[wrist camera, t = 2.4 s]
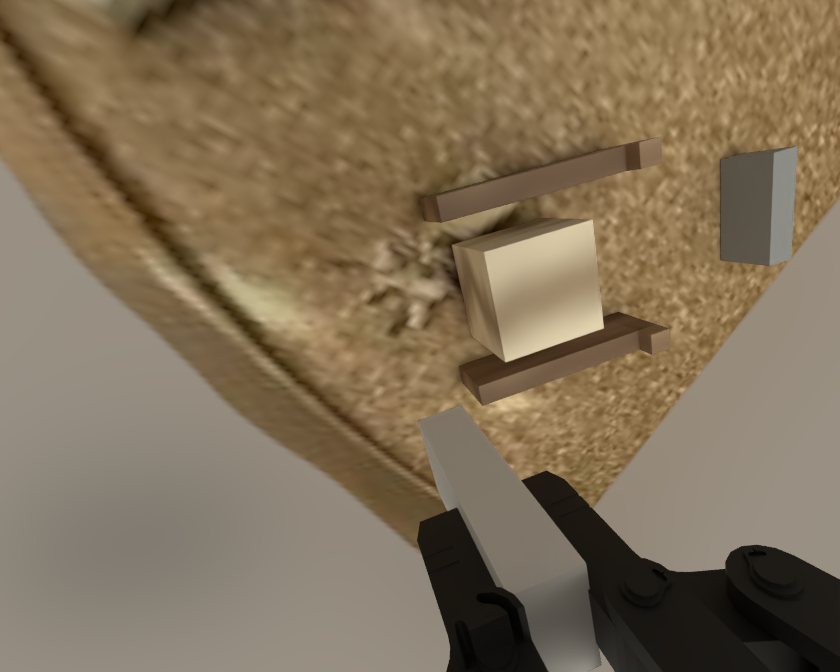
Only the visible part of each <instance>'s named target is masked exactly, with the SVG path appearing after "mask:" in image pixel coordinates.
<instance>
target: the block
mask: <svg viewBox="0 0 840 672" xmlns="http://www.w3.org/2000/svg"><path fill="white" fill-rule="evenodd" d="M452 249H453V254H454V258H455V263H456V267H457V272H458V276H459V281H460V285H461V290H462V294H463V299H464V303H465V308H466V312H467V317H468V321H469V326H470V330H471V335H472V337H473V338H475V339H476V340H477V341H479V342H480V343H481V344H482V345H484V346H485V347H486V348H488V349H489V350H490V351H491V352H493V353H494V354H495V355H497V356H498V357H499V358H500V359H502V360H503V361H504V362H508V361H511V360H514V359H517V358H520V357H523V356H526V355H529V354H531V353H534V352H537V351H540V350H543V349H546V348H549V347H551V346H554V345H557V344H560V343H563V342H566V341H569V340H572V339H574V338H577V337H580V336H583V335H586V334H589V333H592V332H595V331H597V330H600V329H603V328H604V324H603V315H602V305H601V296H600V286H599V276H598V267H597V257H596V248H595V238H594V229H593V220H590V219H554V218H540V219H537V220H534V221H530V222H527V223H523V224H520V225H517V226H513V227H510V228H506V229H503V230H500V231H496V232H493V233H489V234H486V235H483V236H479V237H476V238H472V239H469V240H466V241H462V242H459V243H455V244H452Z"/></svg>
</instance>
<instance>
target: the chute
mask: <svg viewBox="0 0 840 672" xmlns="http://www.w3.org/2000/svg"><path fill="white" fill-rule="evenodd" d="M660 163H662V150H661V137H657V138H652V139H647V140H643V141H638V142H634V143H629V144H624V145H620V146H615V147H610V148H606V149H602V150H598V151H594V152H591V153H587V154H583V155H579V156H576V157H572V158H568V159H565V160H561V161H557V162H553V163H550V164H546V165H542V166H538V167H535V168H531V169H527V170H524V171H520V172H516V173H512V174H509V175H505V176H501V177H498V178H494V179H490V180H486V181H483V182H479V183H475V184H472V185H468V186H464V187H460V188H457V189H453V190H449V191H445V192H442V193H438V194H434V195H431V196H427V197H423V198H420V203H421V207H422V211H423V215H424V220H425V221H428V222H440V223H442V222H446V221H450V220H453V219H457V218H460V217H464V216H467V215H471V214H475V213H478V212H482V211H485V210H489V209H492V208H496V207H500V206H503V205H507V204H510V203H514V202H517V201H521V200H524V199H528V198H532V197H535V196H539V195H542V194H546V193H549V192H553V191H557V190H560V189H564V188H567V187H571V186H574V185H578V184H581V183H585V182H589V181H592V180H596V179H599V178H603V177H606V176H610V175H614V174H617V173H621V172H624V171H629V170H636V169H642V168H646V167H649V166H653V165H657V164H660ZM603 324H604V328H603V329H600V330H597V331H595V332H592V333H589V334H586V335H583V336H580V337H577V338H574V339H572V340H569V341H566V342H563V343H560V344H557V345H554V346H551V347H549V348H546V349H543V350H540V351H537V352H534V353H531V354H529V355H526V356H523V357H520V358H517V359H514V360H511V361H508V362H504V361H503V360H502V359H500V358H499V357H498V356H497V355H495V354H493V355H491V356H488V357H485V358H482V359H479V360H476V361H473V362H470V363H467V364H464V365H461V366H459V369H460V373H461V377H462V381H463V384H464V385H465V386H466V387H467V389H468V390H469V391H470V392H471V393H472V394H473V395H474V396H475V398H476V399H477V400H478V401H479V402H480V403H481V404H482V406H483V405H486V404H489V403H492V402H495V401H497V400H500V399H503V398H506V397H508V396H511V395H514V394H517V393H520V392H522V391H525V390H528V389H531V388H534V387H536V386H539V385H542V384H545V383H548V382H550V381H553V380H556V379H559V378H562V377H564V376H567V375H570V374H573V373H576V372H578V371H581V370H584V369H587V368H589V367H592V366H595V365H598V364H601V363H603V362H606V361H609V360H612V359H615V358H617V357H620V356H623V355H626V354H629V353H631V352H634V351H637V350H642V351H645V352H647V353H649V354H652V355H653V354H656V353H658V352H661V351H664V350H667V349H669V348H670V329H669V328H666V327H663V326H660V325H657V324H654V323H651V322H647V321H644V320H641V319H638V318H635V317H632V316H629V315H626V314H623V313H620V312H617V313H614V314H611V315H608V316H606V317H603Z"/></svg>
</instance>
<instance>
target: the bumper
mask: <svg viewBox="0 0 840 672" xmlns="http://www.w3.org/2000/svg"><path fill="white" fill-rule="evenodd" d="M796 163H797V146H794V147H786V148H779V149H772V150H764V151H757V152H750V153H742V154H739V155H735V156H732V157H728V158H725V159H721V260H723V261H732V262H740V263H749V264H757V265H765V266H771V265H774V264H777V263H780V262H783V261H786V260H788V259H791V250H792V233H793V215H794V198H795V180H796Z"/></svg>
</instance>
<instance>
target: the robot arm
mask: <svg viewBox="0 0 840 672" xmlns="http://www.w3.org/2000/svg"><path fill="white" fill-rule="evenodd" d="M418 423H419V427H420V430H421V434H422V437H423V441H424V444H425V447H426V451H427V454H428V458H429V461H430V465H431V468H432V472H433V475H434V479H435V482H436V486H437V489H438V491H439V494H440V496H441V498H442V500H443V502H444V504H445V507H446V509H447V512H444V513H442V514H439V515H437V516H434V517H431V518H429V519H426V520H424V521H421V522H420V526H419V532H418V538H417V541H418V544H419V547H420V550H421V554H422V556H423V560H424V563H425V566H426V569H427V572H428V575H429V578H430V581H431V584H432V588H433V590H434V594H435V597H436V600H437V603H438V606H439V609H440V612H441V615H442V619H443V622H444V625H445V628H446V631H447V634H448V638H449V643H450V660H449V664H448V667H447V671H446V672H588V671H590V670H592V669H594V668H597V667H599V666H601V658H600V652H599V648H600V650H601V651H602V653H603V654H604V656H605V657H606V659H607V660H608V662H609V663H610V665H611V666H612V668H613V669H614V671H615V672H840V579H837V578H836V577H834V576H832V575H830V574H828V573H826V572H824V571H822V570H820V569H819V568H817V567H815V566H813V565H811V564H809V563H807V562H805V561H803V560H802V559H800V558H798V557H796V556H794V555H791V554H789V553H786V552H784V551H781V550H779V549H777V548H772V547H767V546H761V545H750V546H741V547H739V548H737V549H735V550H734V551H732V552H730V554H729V556H728V558H727V560H726V563H725V564H726V565H725V567H726V568H725V569H719V570H708V571H697V572H675V571H670V570H668V569H666V568H665V567H664V566H662V565H661V564H659V563H656V562H653V561H651V560H648V559H645V558H641V557H639V556H638V555H637V554H636V553H635V552H634V551H632V550H631V548H629V546H628V545H627V544H626V543H625V542H624V541H623V540H622V539H621V538H620V537H619V536H618V535H617V534H616V533H615V532H614V531H613V530H612V528H610V526H609V525H608V524H607V523H606V522H605V521H604V520H603V519H602V518H601V517H600V516H599V515H598V514H597V513H596V512H595V511H594V510H593V509H592V508H590V507H589V504H588V503H587V502H586V501H585V500H584V499H583V498H582V497H581V496H579V495H578V493H577V492H576V491H575V490H574V489H573V488H572V487H571V486H570V485H569V483H568V482H567V481H566V480H565V479H563V478H561V477H559V476H557V475H555V474H552V473H550V472H548V471H544V472H541V473H539V474H536V475H534V476H531V477H529V478H526V479H524V480H520V479H519V477H518V476H517V475H516V474H515V472H514V471H513V470H512V468H511V467H510V466H509V465H508V463H507V462H506V461H505V460H504V458H503V457H502V456H501V454H500V453H499V452H498V451H497V449H496V448H495V447H494V446H493V444H492V443H491V442H490V440H489V439H488V438H487V437H486V435H485V434H484V433H483V432H482V430H481V429H480V428H479V427H478V425H477V424H476V423H475V421H474V420H473V419H472V418H471V416H470V415H469V414H468V413H467V411H466V410H465V409H464V407H463V406H462V405H460V406H457V407H454V408H451V409H449V410H446V411H443V412H440V413H437V414H435V415H432V416H429V417H426V418H423V419H421V420H418Z"/></svg>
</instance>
